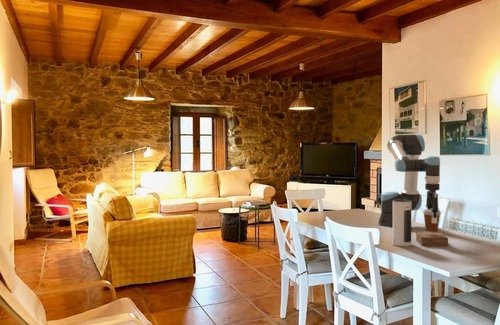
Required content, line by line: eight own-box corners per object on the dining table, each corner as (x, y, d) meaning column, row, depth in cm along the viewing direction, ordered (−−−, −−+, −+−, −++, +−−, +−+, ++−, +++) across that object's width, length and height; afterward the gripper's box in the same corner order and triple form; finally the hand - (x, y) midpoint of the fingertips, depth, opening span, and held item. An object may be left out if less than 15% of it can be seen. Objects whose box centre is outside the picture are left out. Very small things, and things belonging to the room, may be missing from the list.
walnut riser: (416, 240, 247) (416, 232, 247) (440, 240, 245) (440, 232, 244) (421, 246, 233) (421, 237, 233) (448, 246, 231) (448, 238, 231)
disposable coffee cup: (424, 232, 235) (424, 211, 234) (421, 229, 244) (421, 209, 243) (442, 233, 233) (442, 212, 232) (438, 229, 242) (438, 209, 242)
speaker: (399, 247, 230) (399, 201, 229) (388, 243, 240) (388, 198, 239) (415, 246, 233) (415, 200, 232) (403, 241, 243) (404, 198, 242)
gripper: (420, 181, 249) (420, 217, 250) (430, 185, 227) (430, 225, 228) (434, 181, 247) (433, 218, 248) (445, 185, 226) (444, 225, 227)
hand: (431, 221), depth 238 cm, fingers closed on disposable coffee cup, 9 cm apart
